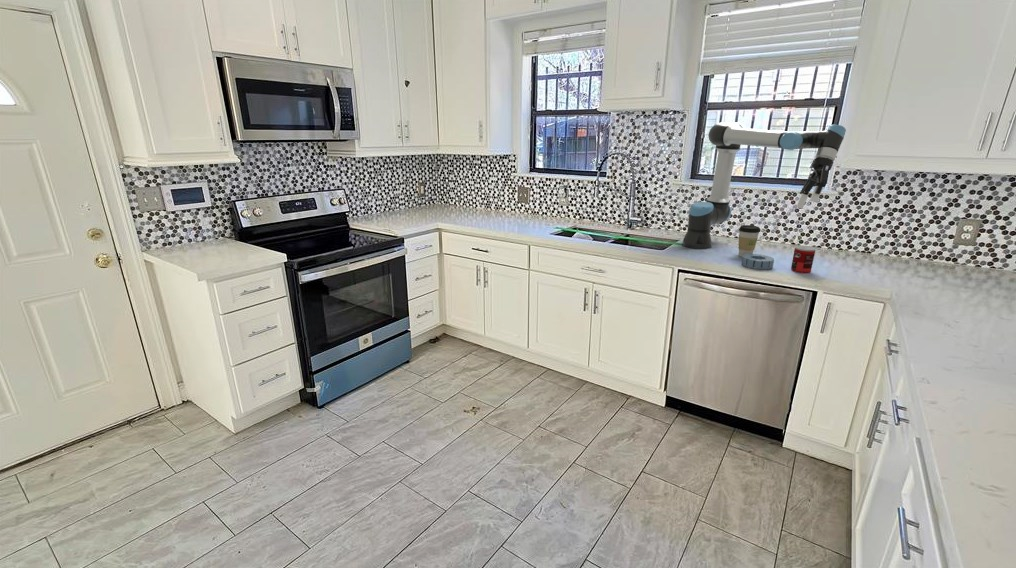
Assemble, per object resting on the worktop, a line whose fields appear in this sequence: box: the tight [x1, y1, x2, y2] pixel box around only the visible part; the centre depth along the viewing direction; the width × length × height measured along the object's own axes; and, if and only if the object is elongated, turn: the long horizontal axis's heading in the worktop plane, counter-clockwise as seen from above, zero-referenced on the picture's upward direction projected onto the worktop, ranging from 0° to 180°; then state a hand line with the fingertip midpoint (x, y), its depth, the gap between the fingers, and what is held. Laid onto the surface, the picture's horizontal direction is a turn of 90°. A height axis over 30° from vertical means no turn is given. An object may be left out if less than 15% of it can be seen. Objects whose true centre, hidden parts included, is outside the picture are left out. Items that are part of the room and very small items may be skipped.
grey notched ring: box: [741, 253, 775, 271], centre depth 221 cm, size 13×13×4 cm
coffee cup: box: [738, 224, 761, 258], centre depth 236 cm, size 10×10×15 cm
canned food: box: [790, 245, 816, 274], centre depth 211 cm, size 8×8×11 cm
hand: (806, 204), depth 207 cm, fingers open, 13 cm apart
